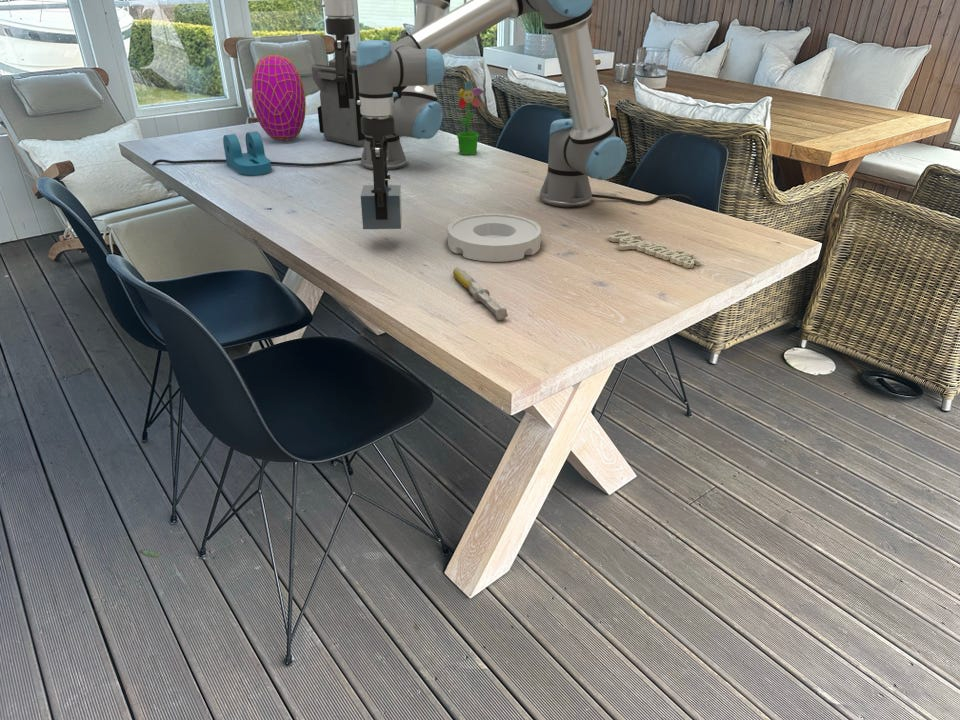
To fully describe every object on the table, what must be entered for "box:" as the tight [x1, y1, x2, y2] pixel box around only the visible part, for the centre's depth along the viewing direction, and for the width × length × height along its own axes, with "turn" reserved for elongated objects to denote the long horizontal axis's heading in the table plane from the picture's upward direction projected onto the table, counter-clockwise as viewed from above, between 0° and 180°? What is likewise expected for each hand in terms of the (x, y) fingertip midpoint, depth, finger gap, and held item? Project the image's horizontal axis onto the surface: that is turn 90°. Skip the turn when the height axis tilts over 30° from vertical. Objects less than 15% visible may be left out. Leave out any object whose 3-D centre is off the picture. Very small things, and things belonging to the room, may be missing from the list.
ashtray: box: [447, 213, 542, 263], centre depth 170 cm, size 23×23×4 cm
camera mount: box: [222, 131, 272, 176], centre depth 226 cm, size 18×10×10 cm, turn 35°
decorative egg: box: [251, 54, 307, 142], centre depth 257 cm, size 19×19×30 cm
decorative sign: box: [609, 229, 701, 269], centre depth 168 cm, size 26×1×10 cm
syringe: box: [452, 266, 509, 321], centre depth 145 cm, size 25×4×3 cm, turn 21°
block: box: [360, 184, 403, 230], centre depth 166 cm, size 9×9×8 cm
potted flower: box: [456, 80, 485, 156], centre depth 244 cm, size 9×8×25 cm
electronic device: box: [311, 50, 407, 147], centre depth 265 cm, size 37×22×30 cm, turn 144°
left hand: (346, 103), depth 189 cm, fingers open, 13 cm apart
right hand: (382, 212), depth 166 cm, fingers closed on block, 9 cm apart
